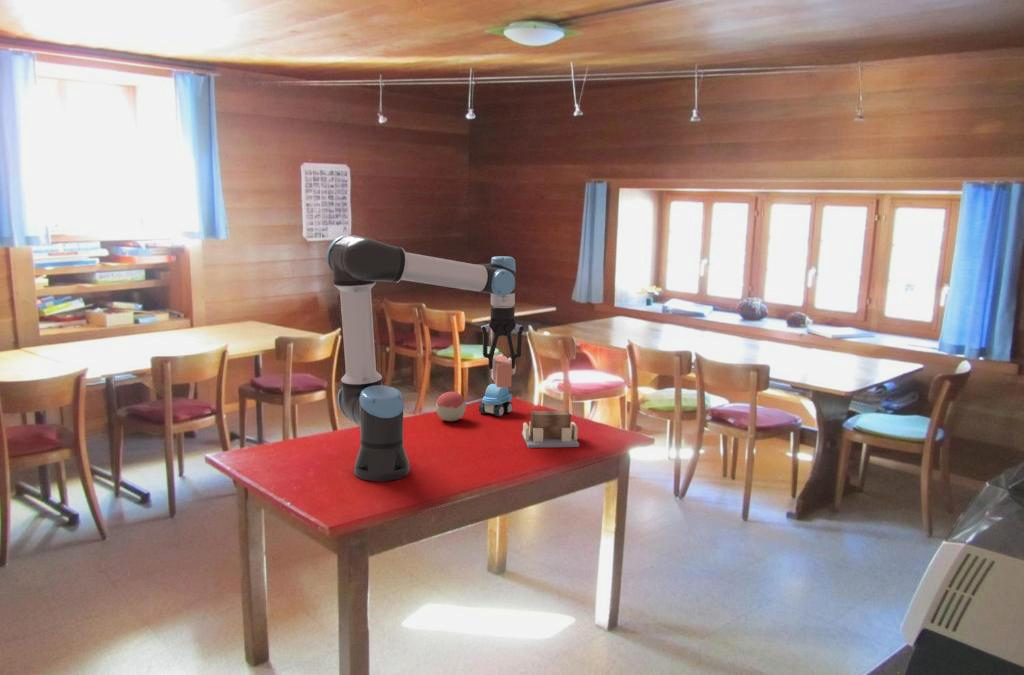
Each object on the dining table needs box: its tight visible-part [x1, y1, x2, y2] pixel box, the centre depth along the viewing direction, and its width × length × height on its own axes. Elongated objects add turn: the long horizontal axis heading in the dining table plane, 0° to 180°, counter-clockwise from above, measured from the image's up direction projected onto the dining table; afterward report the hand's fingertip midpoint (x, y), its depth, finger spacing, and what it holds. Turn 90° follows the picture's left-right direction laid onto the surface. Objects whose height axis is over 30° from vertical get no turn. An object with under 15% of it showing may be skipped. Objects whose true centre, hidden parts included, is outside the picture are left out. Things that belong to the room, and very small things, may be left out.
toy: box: [435, 391, 467, 422], centre depth 273 cm, size 10×12×10 cm
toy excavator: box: [478, 364, 517, 418], centre depth 285 cm, size 9×17×17 cm, turn 148°
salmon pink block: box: [493, 355, 513, 388], centre depth 254 cm, size 4×13×7 cm, turn 9°
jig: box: [521, 420, 580, 449], centre depth 254 cm, size 16×14×5 cm
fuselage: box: [530, 410, 572, 440], centre depth 254 cm, size 12×4×8 cm, turn 97°
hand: (501, 378), depth 254 cm, fingers closed on salmon pink block, 4 cm apart
